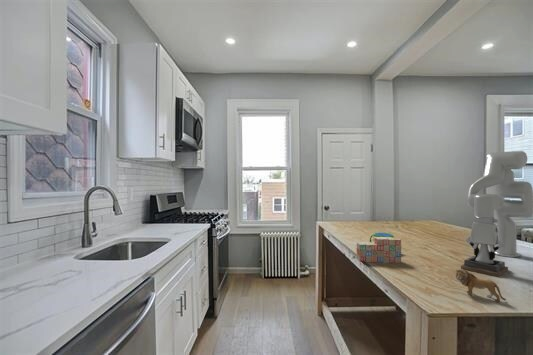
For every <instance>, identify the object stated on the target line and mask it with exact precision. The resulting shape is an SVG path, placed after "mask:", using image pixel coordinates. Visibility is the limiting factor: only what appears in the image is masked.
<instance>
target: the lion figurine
mask: <svg viewBox="0 0 533 355" xmlns="http://www.w3.org/2000/svg"><path fill="white" fill-rule="evenodd" d="M455 279H456V280H457V281H458V282H459V283H461V284H462V286H465V287H467V291H466V293H467V294H468V296H469V295H471V296H472V295H473V289H474V288H475V289H478V290H484V289H487V290H488V292H489V294H487V295H486V297H487V298H492V297H493V296H494V297H495V298H496V299H494V302H496V303H500V302H501V300H503V301H507V299H506V298H504V297H503V296H502V293H501V291H500V287H499V285H498V284H497V283H496V282H494V281H493V280H491V279H485V278H478V277H477V276H476V275H474V274H473V273H471V272H470V271H469V270H464V269H461V268H459V269H455ZM497 292H498V293H497Z"/></svg>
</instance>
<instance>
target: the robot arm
mask: <svg viewBox="0 0 533 355" xmlns="http://www.w3.org/2000/svg"><path fill="white" fill-rule="evenodd" d="M527 162H528V154H527V153H526V152H525V151H523V150H516V151H514V150H513V151H499V152H498V151H497V152H492V153H491V152H490V153H487V154H486V157H485V166H484V170H483V175H482V177H480V178H479V179H477V180H476V181H475V182H473V183H472V184H471V186H470V187H469V189H468V194H467V199H466V203H467V205H468V207H470V208H471V209H473V210H474V211H473V219H474V221H473V222H472V224H471V230H470V236H469V237H467V238H466V239H465V241H466V242H467V243H468V244H469V245H470V246H471V247H472V248H473V255H474V256H475V257H477V255H478V253H479V250H480V248H479V246H480V245H481V244H485V245H488V247H489V249H490V250H489V252H490V260H495V258H496V255H497V256H502V257H507V258H520V257H521V254H520V253H519V252H517V251H518V250H517V247H518V246H517V224H516V222H515V221H514V220H513V219H512V218H520V219H521V218H523V219H531V218H532V217H533V186H532V184H531V183H530V182H529V181H521V180H520V181H517V180H515V173H514V171H513V170H520V169H522V168H523V167H525V166H527ZM491 187H494V192H495V194H492V193H479V192H480V191H482V190H484V189H487V188H491ZM504 198H505V199H504ZM506 198H508V199H506ZM515 199H517V200H515ZM518 199H520V200H518Z"/></svg>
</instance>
